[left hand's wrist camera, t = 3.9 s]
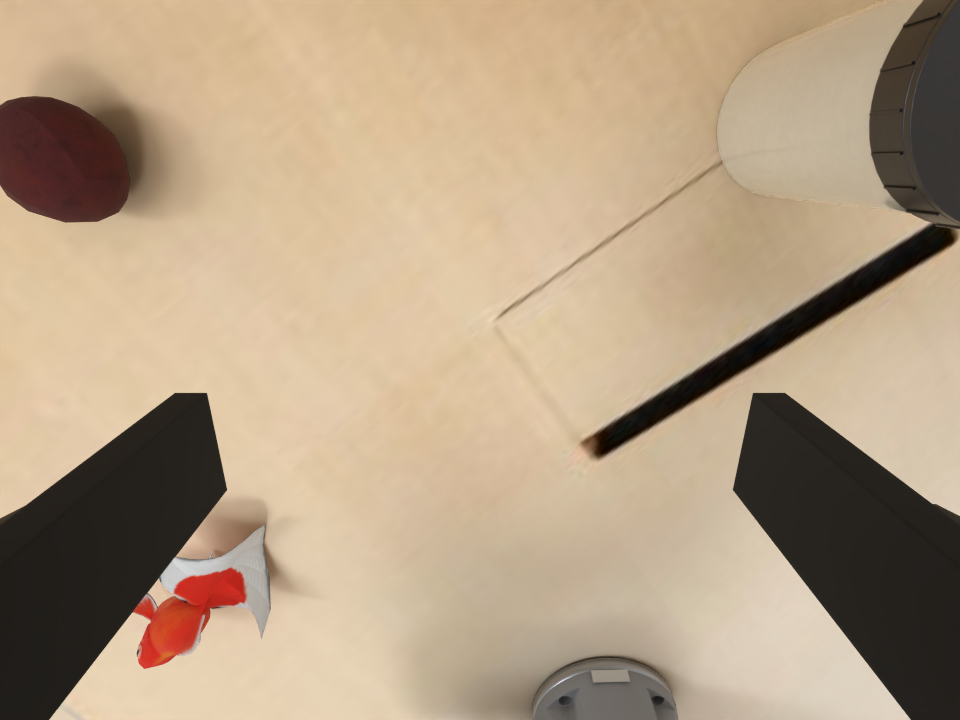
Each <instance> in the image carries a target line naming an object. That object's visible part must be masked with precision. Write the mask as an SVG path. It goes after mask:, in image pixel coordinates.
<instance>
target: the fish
mask: <svg viewBox="0 0 960 720" xmlns="http://www.w3.org/2000/svg"><path fill="white" fill-rule="evenodd" d="M264 536H265V525H263V526H261V527H260V528H258V529H257V530H255V531H254V532H253V533H252V534H251V535H250V536H249V537H248V538H246V539H245V540H244V541H243V542H242V543H240V544H239V545H238V546H236V547H235V548H233V549H232V550H230V551H229V552H227V553H226V554H224V555H223V556H221V557H217V558H212V559H211V556H212V552H211V554H210V557H209V559H186V558H180V557H175V558H174V559H173V560H172V562H171V563H170V564H169V565H168V567H167V568H166V569H165V571H164V572H163V573H162V575H161V576H160V577H159V578H160V582H161V583H162V584H163V586H164V587H165V588H166V589H167V590H168V591H169V592H170V593H172V594H173V595H174V596H173V597H171V598H169V599H167V600H165V601H164V602H163V603H162V604H161V605H160V606H159V607H157V605H156V603H155V601H154V599H153V598H152V597H151V596H150V595H149V594H148V593H147V594H146V595H145V596H144V598H143V599H142V600H141V602H140V603H139V604H138V606H137V607H136V608H135V609H134V611H133V612H134V613H136V614H139V615H142V616H144V617H146V618H147V619H149V620H151V623H150V624H148V626H147V628H146V631H145V633H144V635H143V638H142V640H141V642H140V644H139V647H138V651H137V657H138V661H139V664H140V665H141V666H142V667H143V668H144V669H146V668H150V667H155V666H159V665H162V664H165V663H167V662H169V661H170V660H171V659H172V658H173V657H175V656H176V655H178V656H184V655H188V654H191V653H192V652H193V651H194V650H195V649H196V647H197V646H198V644H199V642H200V634H201V632H202V631H203V629H204V628H205V626H206V624H207V622H208V620H209V618H210V608H212V609H215V608H223V607H230V606H235V607H241V608H249V609H250V610H251V611H252V613H253V615H254V617H255V618H256V621H257V624H258V627H259V630H260V634H261V639H262V636H263V632H264V629H265V625H266V622H267V619H268V615H269V612H270V609H271V605H270V580H269V573H268V568H267V562H266V557H265V551H264V545H263V543H264Z"/></svg>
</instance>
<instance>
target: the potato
mask: <svg viewBox="0 0 960 720" xmlns="http://www.w3.org/2000/svg"><path fill="white" fill-rule="evenodd" d="M129 185H130V180H129V174H128V169H127V163H126V158H125V156H124V154H123V152H122V150H121V148H120V146H119V144H118V142H117V140H116V138H115V136H114V135H113V134H112V133H111V132H110V131H109V130H108V129H107V128H106V127H105V126H104V125H103V124H102V123H101V122H100V121H99V120H97V119H96V118H94V117H93V116H91V115H90V114H88V113H87V112H85V111H84V110H82V109H81V108H79V107H77V106H74V105H72V104H69V103H66V102H64V101H61V100H57V99H54V98H51V97H37V96H32V97H20V98H16V99H12V100H8V101H6V102H4V103H3V104H2V105H0V186H1V187H2V189H3V190H4V192H5V193H6V194H7V196H8V197H10V198H11V199H12V200H14V201H15V202H16V203H18V204H19V205H21V206H22V207H23V208H25V209H26V210H28V211H30V212H33V213H36V214H39V215H43V216H46V217H49V218H52V219H56V220H59V221H62V222H98V221H100V220H102V219H105V218H107V217H109V216H112V215H114V214H116V213H118V212H119V211H120V210H121V208H122V207H123V205H124V203H125V202H126V200H127V197H128V191H129Z"/></svg>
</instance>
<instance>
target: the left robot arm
mask: <svg viewBox="0 0 960 720" xmlns="http://www.w3.org/2000/svg"><path fill="white" fill-rule="evenodd" d="M226 491H227V487H226V482H225V478H224V473H223V468H222V463H221V458H220V454H219V449H218V444H217V439H216V434H215V430H214V425H213V420H212V415H211V410H210V406H209V401H208V396H207V393H174V394H173V395H172V396H170V397H169V398H168V399H166V400H165V401H164V402H163V403H161V404H160V405H159V406H157V407H156V408H155V409H153V410H152V411H151V412H149V413H148V414H147V415H145V416H144V417H143V418H141V419H140V420H139V421H137V422H136V423H135V424H133V425H132V426H131V427H129V428H128V429H127V430H125V431H124V432H123V433H121V434H120V435H119V436H117V437H116V438H115V439H113V440H112V441H111V442H109V443H108V444H107V445H105V446H104V447H103V448H101V449H100V450H99V451H97V452H96V453H95V454H93V455H92V456H91V457H90V458H88V459H87V460H86V461H84V462H83V463H82V464H80V465H79V466H78V467H76V468H75V469H74V470H72V471H71V472H70V473H68V474H67V475H66V476H64V477H63V478H62V479H60V480H59V481H58V482H56V483H55V484H54V485H52V486H51V487H50V488H48V489H47V490H46V491H44V492H43V493H42V494H40V495H39V496H38V497H36V498H35V499H34V500H32V501H31V502H30V503H28V504H27V505H26V506H24V507H22V508H20V509H18V510H16V511H14V512H12V513H10V514H8V515H6V516H4V517H2V518H0V720H49V719H50V718H51V717H52V715H53V714H54V713H55V711H56V710H57V709H58V708H59V706H60V705H61V704H62V702H63V701H64V700H65V698H66V697H67V696H68V695H69V693H70V692H71V691H72V689H73V688H74V687H75V686H76V684H77V683H78V682H79V680H80V679H81V678H82V677H83V675H84V674H85V673H86V671H87V670H88V669H89V668H90V666H91V665H92V664H93V662H94V661H95V660H96V658H97V657H98V656H99V655H100V653H101V652H102V651H103V649H104V648H105V647H106V646H107V644H108V643H109V642H110V640H111V639H112V638H113V637H114V635H115V634H116V633H117V631H118V630H119V629H120V627H121V626H122V625H123V624H124V622H125V621H126V620H127V618H128V617H129V616H130V615H131V613H132V612H133V611H134V609H135V608H136V607H137V606H138V604H139V603H140V602H141V600H142V599H143V598H144V596H145V595H146V594H147V593H148V591H149V590H150V589H151V587H152V586H153V585H154V584H155V582H156V581H157V580H158V578H159V577H160V576H161V575H162V573H163V572H164V571H165V569H166V568H167V567H168V565H169V564H170V563H171V562H172V560H173V559H174V558H175V556H176V555H177V554H178V553H179V551H180V550H181V549H182V547H183V546H184V545H185V544H186V542H187V541H188V540H189V538H190V537H191V536H192V535H193V533H194V532H195V531H196V529H197V528H198V527H199V525H200V524H201V523H202V522H203V520H204V519H205V518H206V516H207V515H208V514H209V513H210V511H211V510H212V509H213V507H214V506H215V505H216V504H217V502H218V501H219V500H220V498H221V497H222V496H223V494H224V493H225V492H226ZM733 491H734V492H735V493H736V494H737V496H738V497H739V498H740V500H741V501H742V502H743V504H744V505H745V506H746V507H747V509H748V510H749V511H750V513H751V514H752V515H753V516H754V518H755V519H756V520H757V522H758V523H759V524H760V525H761V527H762V528H763V529H764V531H765V532H766V533H767V535H768V536H769V537H770V538H771V540H772V541H773V542H774V544H775V545H776V546H777V547H778V549H779V550H780V551H781V553H782V554H783V555H784V556H785V558H786V559H787V560H788V562H789V563H790V564H791V565H792V567H793V568H794V569H795V571H796V572H797V573H798V575H799V576H800V577H801V578H802V580H803V581H804V582H805V584H806V585H807V586H808V587H809V589H810V590H811V591H812V593H813V594H814V595H815V596H816V598H817V599H818V600H819V602H820V603H821V604H822V606H823V607H824V608H825V609H826V611H827V612H828V613H829V615H830V616H831V617H832V618H833V620H834V621H835V622H836V624H837V625H838V626H839V627H840V629H841V630H842V631H843V633H844V634H845V635H846V637H847V638H848V639H849V640H850V642H851V643H852V644H853V646H854V647H855V648H856V649H857V651H858V652H859V653H860V655H861V656H862V657H863V658H864V660H865V661H866V662H867V664H868V665H869V666H870V668H871V669H872V670H873V671H874V673H875V674H876V675H877V677H878V678H879V679H880V680H881V682H882V683H883V684H884V686H885V687H886V688H887V689H888V691H889V692H890V693H891V695H892V696H893V697H894V698H895V700H896V701H897V702H898V704H899V705H900V706H901V708H902V709H903V710H904V711H905V713H906V714H907V715H908V717H909V718H910V719H911V720H960V516H958V515H956V514H954V513H952V512H950V511H948V510H946V509H944V508H942V507H940V506H938V505H937V504H932V503H930V502H929V501H928V500H926V499H925V498H924V497H922V496H921V495H920V494H918V493H917V492H916V491H914V490H913V489H912V488H910V487H909V486H908V485H906V484H905V483H904V482H902V481H901V480H900V479H898V478H897V477H896V476H894V475H893V474H892V473H890V472H889V471H888V470H886V469H885V468H884V467H882V466H881V465H880V464H878V463H877V462H876V461H874V460H873V459H872V458H870V457H869V456H868V455H867V454H865V453H864V452H863V451H861V450H860V449H859V448H857V447H856V446H855V445H853V444H852V443H851V442H849V441H848V440H847V439H845V438H844V437H843V436H841V435H840V434H839V433H837V432H836V431H835V430H833V429H832V428H831V427H829V426H828V425H827V424H825V423H824V422H823V421H821V420H820V419H819V418H817V417H816V416H815V415H813V414H812V413H811V412H809V411H808V410H807V409H805V408H804V407H803V406H801V405H800V404H799V403H797V402H796V401H795V400H794V399H792V398H791V397H790V396H788V395H787V394H786V393H753V396H752V401H751V406H750V410H749V415H748V420H747V425H746V430H745V434H744V439H743V444H742V449H741V454H740V458H739V463H738V468H737V473H736V477H735V482H734V487H733ZM532 715H533V720H678V715H677V710H676V705H675V702H674V699H673V696H672V693H671V691H670V688H669V686H668V684H667V683H666V681H665V680H664V679H663V678H662V677H661V676H660V675H659V674H658V673H657V672H655V671H654V670H653V669H651V668H649V667H647V666H645V665H643V664H641V663H638V662H635V661H631V660H627V659H621V658H596V659H589V660H585V661H581V662H577V663H574V664H572V665H569V666H567V667H565V668H563V669H561V670H559V671H558V672H556V673H555V674H553V675H552V676H551V677H550V678H548V679H547V680H546V681H545V682H544V683H543V684H542V686H541V687H540V688H539V690H538V692H537V693H536V696H535V698H534V701H533V707H532Z"/></svg>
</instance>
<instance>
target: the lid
mask: <svg viewBox="0 0 960 720" xmlns="http://www.w3.org/2000/svg"><path fill="white" fill-rule="evenodd" d="M869 116H870V119H869V141H870V148H871V156H872V159H873V162H874V165H875V169H876V172H877V174H878V176H879V178H880V180H881V182H882V184H883V186H884V187H883V188H884V189H886V190H887V191H888V193H889V194H890V196H891V197H892V198H893V199H894V200H895V201H896V202H897V203H898V204H899V205H900V206H901V207H903V208H904V209H905V210H906V211H905V212H907V213H911V214H913V215H915V216H917V217H919V218H921V219H923V220H925V221H928V222H932V223H935V224H936V225H935V226H940V227H947V228H954V229H960V0H923V2H922V3H921V4H920V5H919V6H918V7H917V8H916V10H915V11H914V12H913V14H912V15H911V16H910V18H909V19H908V20H907V22H906V23H904V24H903V27H902V29H901V31H900V32H899V34H898V36H897V37H896V39H895V41H894V43H893V44H892V46H891V48H890V50H889V52H888V54H887V57H886V59H885V61H884V63H883V65H882V68H881V69H880V74H879V76H878V79H877V82H876V85H875V90H874V94H873V98H872V102H871V109H870V113H869Z"/></svg>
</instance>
